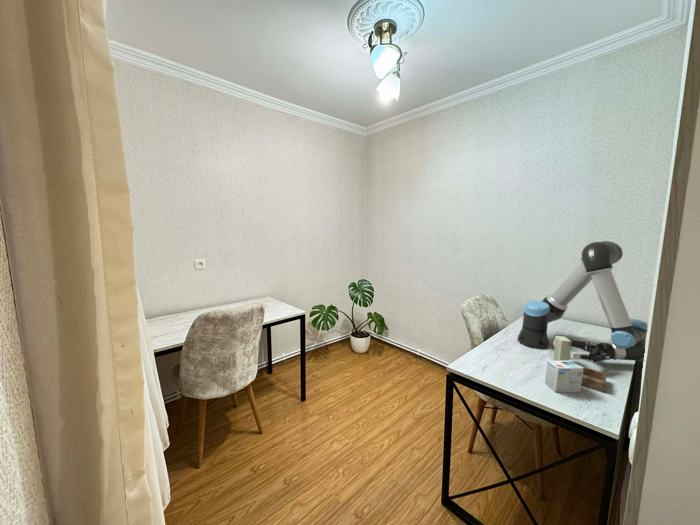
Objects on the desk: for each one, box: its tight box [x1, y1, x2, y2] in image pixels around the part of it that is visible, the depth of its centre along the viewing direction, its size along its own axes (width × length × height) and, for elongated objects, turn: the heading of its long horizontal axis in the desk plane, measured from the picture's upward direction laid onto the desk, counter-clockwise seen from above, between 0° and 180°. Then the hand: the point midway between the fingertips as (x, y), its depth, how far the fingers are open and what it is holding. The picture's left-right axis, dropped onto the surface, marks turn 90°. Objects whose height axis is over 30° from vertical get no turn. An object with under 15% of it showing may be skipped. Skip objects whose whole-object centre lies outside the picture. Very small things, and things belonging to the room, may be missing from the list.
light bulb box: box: [544, 359, 584, 393], centre depth 117 cm, size 11×7×11 cm, turn 92°
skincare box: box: [553, 335, 572, 361], centre depth 139 cm, size 6×4×12 cm
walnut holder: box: [580, 365, 607, 394], centre depth 122 cm, size 11×11×4 cm
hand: (562, 348), depth 138 cm, fingers open, 13 cm apart
